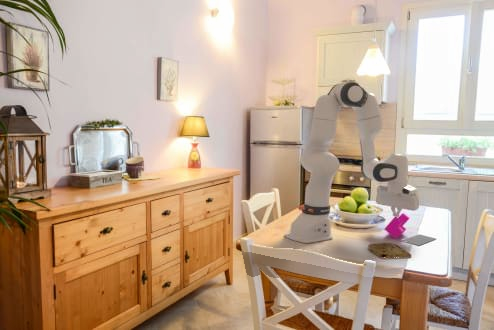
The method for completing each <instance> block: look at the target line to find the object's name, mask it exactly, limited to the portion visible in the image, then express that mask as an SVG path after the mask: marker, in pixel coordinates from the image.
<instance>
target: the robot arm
mask: <svg viewBox="0 0 494 330" xmlns="http://www.w3.org/2000/svg"><path fill="white" fill-rule="evenodd" d="M342 108H351V109H352V110H353V112H354V113H355V120H356V123H357V124H356V125H357V128H358V129H357V130H358V135H359V136H358V137H359V144H360V145H359V146H360V152H361V163H360V164H361V166H360V172H361V174H362V176H363V177H364V178H365V179H368V180H373V181H375V182H379V183H385V182H387V185H379V186H377V188H376V197H375V203H376V204H377V205H381V206H386V207H390V210H391V212H392V217H397V218H398V217H399V216H400V213H401V211H402V210H408V211H413V212H414V211H417V210H418V209H419V208H420V196H419V195H418V192H419V189H418V188H417V187H414V186H412V185H410V184H409V183H408V175H409V174H408V173H409V161H408V158H407V156H406V155H404V154H399V153H395V152H393V153H390V154H389V155H388V156H386V157H384V158H383V159H381V160H379V159H378V158H377V156H376V149H375V138H376V137H377V136H378V135H379V133H381V131H382V129H383V118H382V111H381V108H380V105H379V103H378V100H377V98H376V95H375V94H374V93H371V92H367V91H366V89H365V88H364V86H363V85H362V84H360V83H359V82H357V81H344V82H341V83H337V84H335V85H333V86H332V87H331V88H330V90H329V92H328V93H327V94H325V95H321V96H319V97H318V98H317V100H316V102H315V105H314V110H313V114H312V121H311V126H310V127H311V128H310V134H309V139H308V142H307V144H306V148H305V150H304V152H302V154H301V156H300V165H301V166H302V167H303V168H304V169H305V170H306V171H307V172H309V173H310V177H309V181H308V183H307V184H306V186H305V195H304V204H303V205H299V206H297V207H298V210H299V211H301V213H300V214H299V215H298V216H296V218H295V219H294V220H293V221H292V222H291V225H290V228H289V229H290V231H287V232H286V233H284V237H285V238H288V239H290V240H292V241H295V242H299V243H304V244H310V243H315V242H316V243H317V242H322V241H328V240H333V235H332V227H331V226H332V223H331V218H330V213H331V205H330V198H331V188H332V185H333V184H332V183H333V180H334V178H335V175H337V173H338V172H339V170H340V166H341V165H340V160H339V159H338V157H337V156H335V155H334V154H333V153H332V152H330V151H329V150H330V148H331V145H332V143H333V142H334V141H335V139H336V135H337V127H338V118H339V113H340V110H341V109H342ZM396 210H397V211H396Z"/></svg>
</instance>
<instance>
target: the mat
mask: <svg viewBox="0 0 494 330" xmlns="http://www.w3.org/2000/svg"><path fill="white" fill-rule="evenodd" d="M436 240H437V238H435V237H432V236H428V235H423V234H416V235H413V236H411V237H408V238H405V239H402V240H401V242H403V241H407V242H409V243H408V244H410V243H411V245H414V246H416V247H417V246H418V247H420V246H423V245H426V244H428V243H430V242H433V241H436Z"/></svg>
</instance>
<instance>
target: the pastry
mask: <svg viewBox="0 0 494 330" xmlns="http://www.w3.org/2000/svg"><path fill="white" fill-rule="evenodd" d="M367 247H368V248H369V250H370V251H371V252H372V253H373V252H374V253H373V254H375V255H376V256H377V255H378V256H377V257H379V258H380V257H385V258H391V259H397V258H396V257H408V258H407V259H411V258H412V254H411V253H410V252H409V251H407V250H406V249H403V247H402V248H401V246H399V245H397V244H395V243H391V242H382V243H379V242H377V243H370V244H368V245H367ZM394 257H395V258H394ZM385 258H384V259H385Z"/></svg>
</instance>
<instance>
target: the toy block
mask: <svg viewBox="0 0 494 330" xmlns="http://www.w3.org/2000/svg"><path fill="white" fill-rule="evenodd" d="M409 220H410V216H408V215H407V214H406V213H405V212H402V213H401V214H399V217H395V216H393V218H392V219H391V221H390V222H389V223H388V224H387V225H386V226H385V228H384V229H383V230H384V231H386V232H387V233H388V234H389V235H390V236H391V237H393V238H394V239H397V238H398V237H400V236H402V235H403V234H404V233H405V232H406V230H407V228H405V224H407V222H408V221H409Z"/></svg>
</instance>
